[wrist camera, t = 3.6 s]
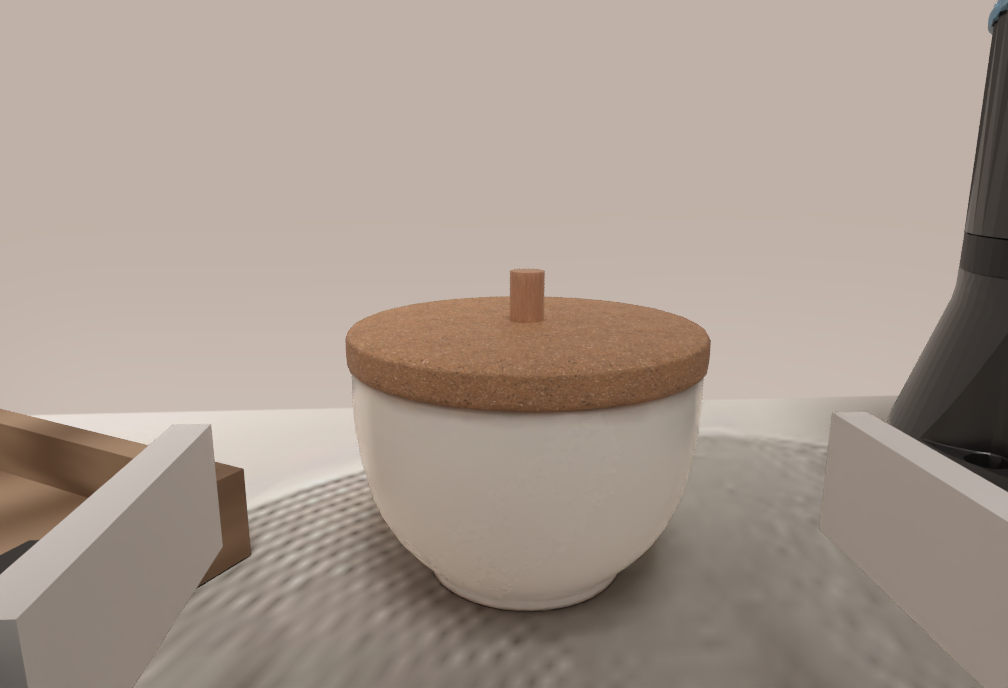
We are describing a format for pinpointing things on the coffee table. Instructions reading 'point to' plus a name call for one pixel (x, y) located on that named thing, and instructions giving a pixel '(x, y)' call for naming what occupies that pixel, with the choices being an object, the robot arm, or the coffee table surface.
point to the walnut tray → (87, 482)
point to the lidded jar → (527, 436)
